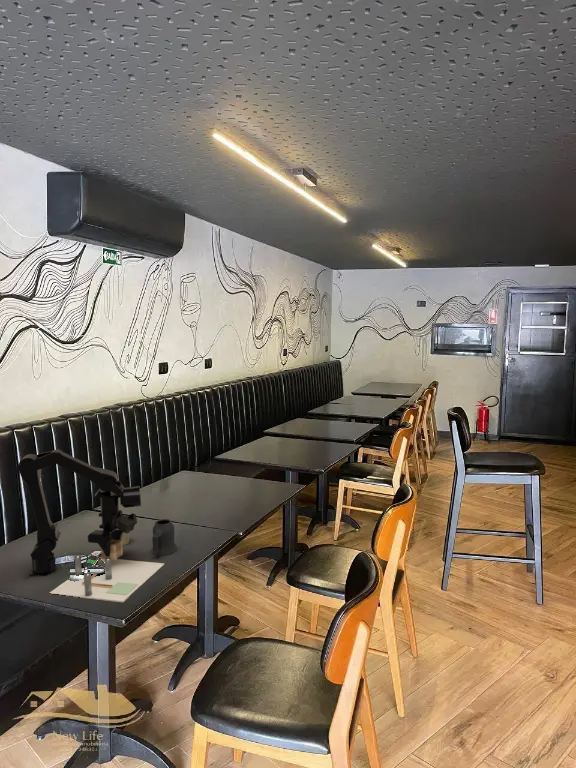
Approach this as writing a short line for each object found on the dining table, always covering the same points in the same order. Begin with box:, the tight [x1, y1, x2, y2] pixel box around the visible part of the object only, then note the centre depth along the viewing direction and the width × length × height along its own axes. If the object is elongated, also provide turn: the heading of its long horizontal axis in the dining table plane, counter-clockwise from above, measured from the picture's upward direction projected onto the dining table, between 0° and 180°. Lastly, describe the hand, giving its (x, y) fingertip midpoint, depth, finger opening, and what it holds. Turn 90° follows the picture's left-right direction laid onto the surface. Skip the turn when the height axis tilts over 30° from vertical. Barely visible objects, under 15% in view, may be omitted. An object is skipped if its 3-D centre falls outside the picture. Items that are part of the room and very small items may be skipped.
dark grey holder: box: [151, 518, 178, 557], centre depth 195 cm, size 12×9×11 cm
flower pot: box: [121, 531, 131, 546], centre depth 205 cm, size 9×9×9 cm
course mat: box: [49, 557, 165, 604], centre depth 177 cm, size 25×26×1 cm
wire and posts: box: [73, 554, 113, 596], centre depth 174 cm, size 10×18×6 cm, turn 31°
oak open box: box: [100, 540, 124, 560], centre depth 188 cm, size 5×5×5 cm
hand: (112, 553), depth 188 cm, fingers closed on oak open box, 5 cm apart
